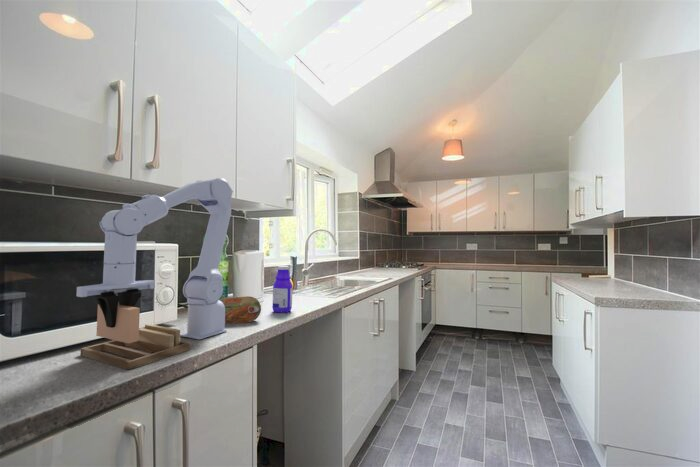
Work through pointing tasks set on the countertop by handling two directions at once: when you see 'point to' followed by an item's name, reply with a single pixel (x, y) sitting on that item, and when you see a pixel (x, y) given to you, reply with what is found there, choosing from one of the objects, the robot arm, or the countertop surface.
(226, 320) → the tin
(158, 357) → the rack
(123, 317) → the block
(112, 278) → the robot arm
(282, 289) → the bottle
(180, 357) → the countertop surface
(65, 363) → the countertop surface
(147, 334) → the offcuts
